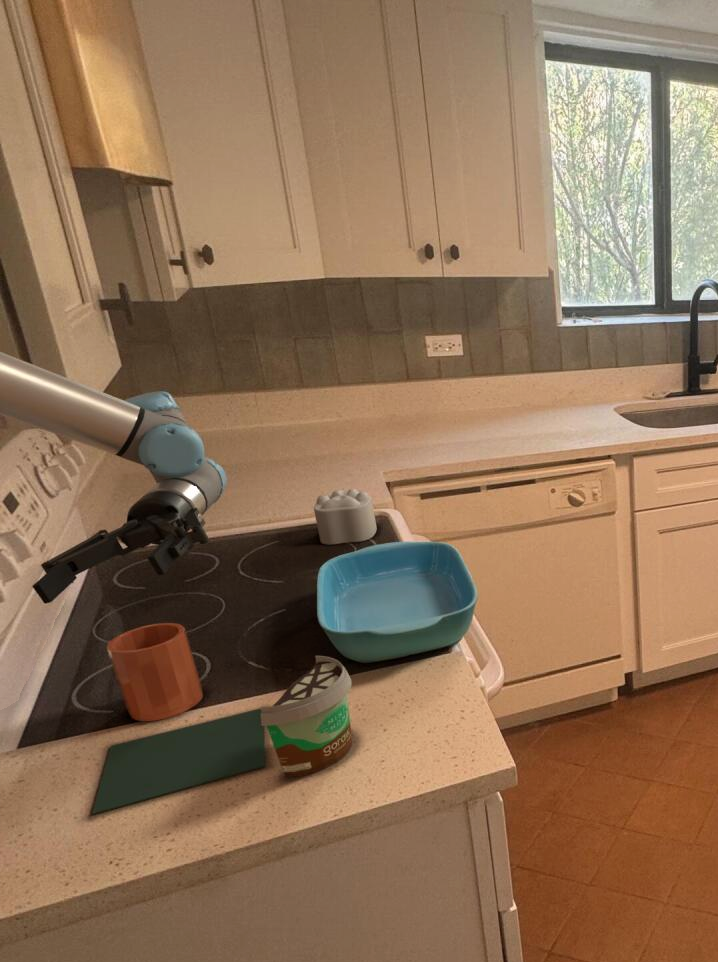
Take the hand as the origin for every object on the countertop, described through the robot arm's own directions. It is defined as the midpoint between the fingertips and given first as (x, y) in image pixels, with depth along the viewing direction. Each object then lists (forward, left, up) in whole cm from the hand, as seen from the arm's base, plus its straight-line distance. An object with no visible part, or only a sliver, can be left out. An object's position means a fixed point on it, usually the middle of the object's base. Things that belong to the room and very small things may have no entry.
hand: (99, 580), depth 100 cm
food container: (+28, +22, -17) cm, 39 cm away
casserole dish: (-6, +34, -17) cm, 39 cm away
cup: (+5, +4, -17) cm, 18 cm away
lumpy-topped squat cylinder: (-55, +31, -17) cm, 65 cm away
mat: (+20, +7, -17) cm, 27 cm away
